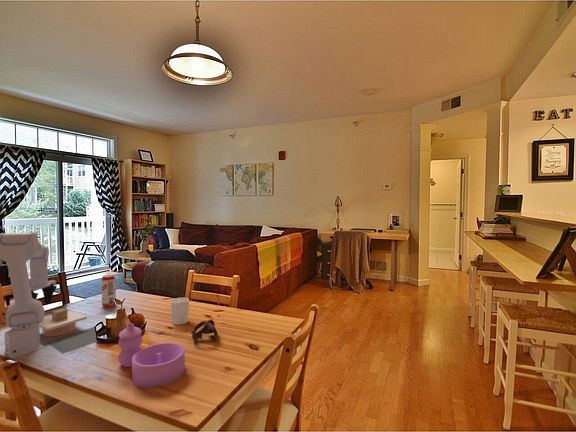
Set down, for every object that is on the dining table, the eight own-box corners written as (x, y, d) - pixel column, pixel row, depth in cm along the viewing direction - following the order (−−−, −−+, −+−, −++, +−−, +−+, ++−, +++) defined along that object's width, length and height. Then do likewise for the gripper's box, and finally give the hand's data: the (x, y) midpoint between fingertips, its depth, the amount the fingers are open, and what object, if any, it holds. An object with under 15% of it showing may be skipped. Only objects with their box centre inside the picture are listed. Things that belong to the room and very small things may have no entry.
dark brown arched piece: (217, 346, 115) (205, 330, 113) (196, 355, 117) (184, 339, 115) (224, 325, 127) (214, 310, 124) (205, 334, 128) (195, 319, 126)
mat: (62, 354, 108) (62, 353, 108) (46, 342, 117) (46, 341, 117) (115, 336, 123) (115, 335, 123) (97, 327, 132) (97, 326, 132)
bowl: (48, 339, 120) (48, 328, 120) (39, 332, 126) (38, 322, 126) (80, 330, 129) (79, 319, 129) (69, 324, 135) (69, 314, 135)
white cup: (185, 325, 133) (185, 303, 133) (168, 325, 134) (167, 303, 133) (191, 318, 141) (191, 297, 141) (175, 318, 141) (174, 297, 141)
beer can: (105, 309, 154) (104, 277, 154) (100, 306, 158) (99, 276, 157) (118, 305, 159) (117, 275, 159) (112, 303, 163) (111, 273, 162)
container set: (195, 367, 100) (194, 328, 99) (155, 393, 86) (154, 348, 85) (143, 350, 111) (142, 315, 110) (101, 371, 97) (100, 331, 97)
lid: (47, 330, 118) (47, 319, 117) (32, 323, 125) (31, 312, 124) (86, 318, 130) (86, 308, 129) (70, 312, 137) (69, 303, 136)
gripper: (32, 278, 120) (34, 312, 121) (61, 270, 135) (63, 300, 135) (15, 278, 121) (17, 312, 121) (46, 270, 135) (47, 300, 136)
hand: (40, 306), depth 128 cm, fingers open, 7 cm apart
